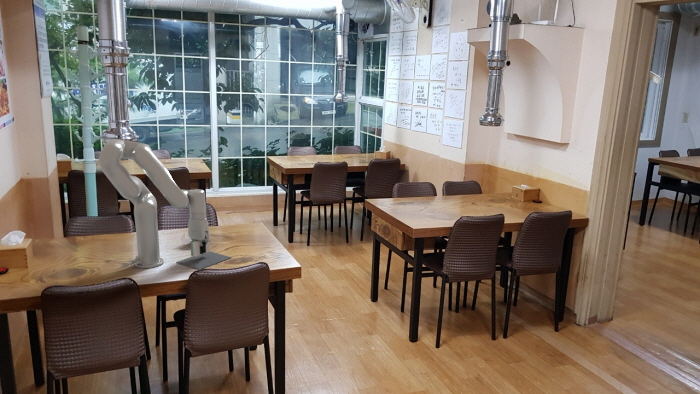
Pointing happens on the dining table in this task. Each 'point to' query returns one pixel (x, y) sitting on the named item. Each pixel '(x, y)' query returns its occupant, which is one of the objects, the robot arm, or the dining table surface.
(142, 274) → the dining table surface
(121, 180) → the robot arm
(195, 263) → the mat
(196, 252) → the card deck
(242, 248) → the dining table surface
